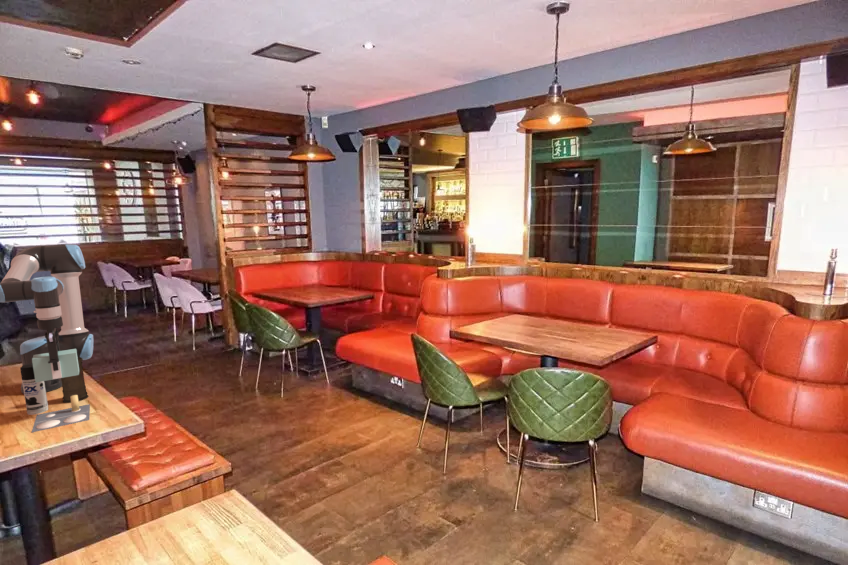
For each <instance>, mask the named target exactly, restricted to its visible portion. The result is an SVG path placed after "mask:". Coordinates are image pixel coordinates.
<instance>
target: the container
mask: <svg viewBox="0 0 848 565" xmlns="http://www.w3.org/2000/svg"><path fill="white" fill-rule="evenodd" d="M83 361H84V360H83V359H82V358H81V357H78V364H79V375H76V376H70V377H64V378H61V381H62V386H61V387H62V395H63V396H62V403H64V404H71V399H70V396H72V395H78V401H79V402H82V401H84V400H86V399H88V398H89V395H88V394H89V392H88V391H87V386H86V383H85V381H86V380H85V375H84V367H83Z"/></svg>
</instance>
